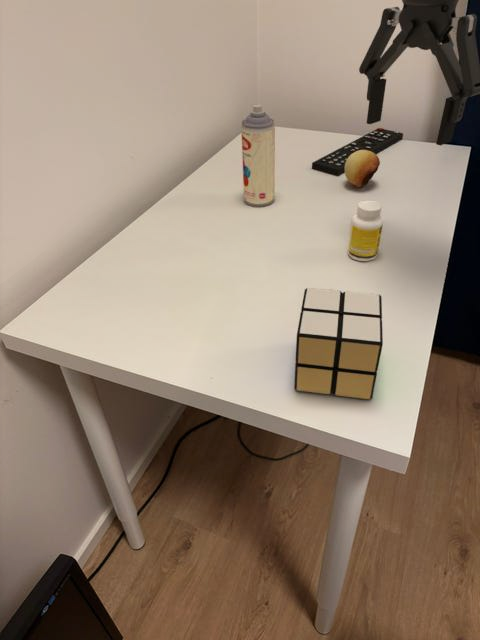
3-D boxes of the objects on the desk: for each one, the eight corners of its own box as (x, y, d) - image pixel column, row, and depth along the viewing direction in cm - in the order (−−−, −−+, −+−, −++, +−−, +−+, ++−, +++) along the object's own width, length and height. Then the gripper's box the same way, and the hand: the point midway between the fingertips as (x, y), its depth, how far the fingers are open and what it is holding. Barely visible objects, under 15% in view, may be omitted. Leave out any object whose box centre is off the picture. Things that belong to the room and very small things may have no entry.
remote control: (402, 138, 134) (404, 131, 133) (337, 176, 116) (338, 168, 115) (378, 133, 138) (379, 126, 137) (311, 168, 120) (312, 160, 119)
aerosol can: (241, 195, 110) (237, 102, 97) (270, 192, 111) (270, 99, 98) (247, 208, 105) (243, 112, 92) (277, 205, 106) (278, 109, 93)
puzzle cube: (301, 341, 71) (304, 286, 65) (371, 348, 70) (381, 292, 63) (293, 391, 64) (296, 334, 57) (371, 401, 62) (383, 343, 56)
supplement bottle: (380, 261, 87) (389, 212, 81) (350, 262, 87) (356, 213, 81) (374, 246, 91) (382, 197, 85) (345, 247, 91) (350, 198, 85)
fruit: (376, 179, 114) (381, 145, 109) (376, 194, 108) (381, 159, 103) (343, 177, 116) (347, 143, 111) (341, 192, 109) (345, 157, 104)
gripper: (345, -33, 70) (333, 119, 84) (510, -26, 54) (462, 159, 68) (380, -37, 73) (362, 110, 87) (544, -32, 58) (492, 146, 71)
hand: (406, 132), depth 77 cm, fingers open, 13 cm apart
